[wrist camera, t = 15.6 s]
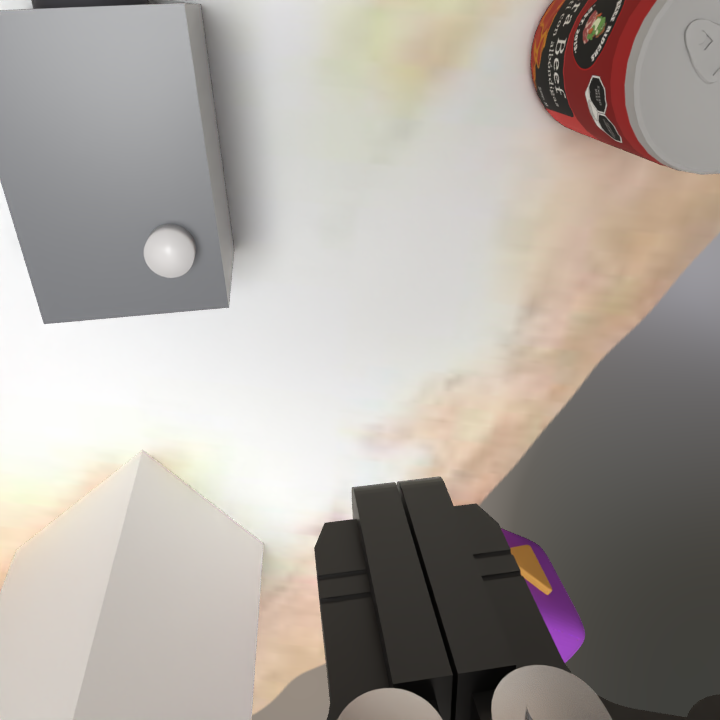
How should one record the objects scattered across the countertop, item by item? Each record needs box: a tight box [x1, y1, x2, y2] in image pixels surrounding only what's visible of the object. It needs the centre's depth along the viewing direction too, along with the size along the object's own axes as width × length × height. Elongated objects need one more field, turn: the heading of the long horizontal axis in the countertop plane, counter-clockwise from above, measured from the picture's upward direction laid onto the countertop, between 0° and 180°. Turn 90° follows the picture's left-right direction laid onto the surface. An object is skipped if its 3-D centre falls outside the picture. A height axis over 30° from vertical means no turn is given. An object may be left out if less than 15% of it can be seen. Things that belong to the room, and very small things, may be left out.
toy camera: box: [501, 528, 585, 663], centre depth 46 cm, size 11×14×10 cm
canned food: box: [531, 0, 720, 174], centre depth 29 cm, size 8×8×11 cm
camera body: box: [0, 0, 234, 324], centre depth 28 cm, size 15×8×9 cm, turn 2°
